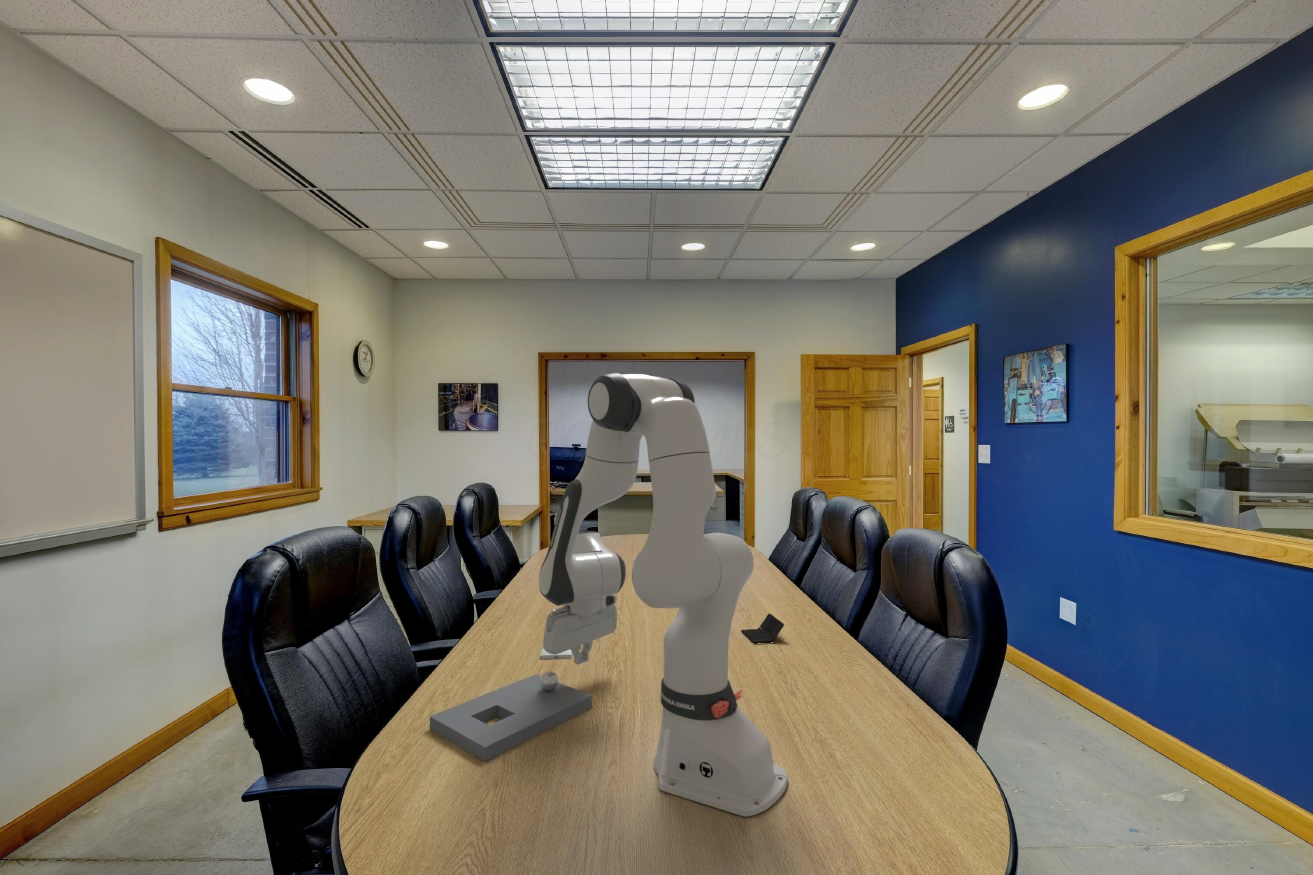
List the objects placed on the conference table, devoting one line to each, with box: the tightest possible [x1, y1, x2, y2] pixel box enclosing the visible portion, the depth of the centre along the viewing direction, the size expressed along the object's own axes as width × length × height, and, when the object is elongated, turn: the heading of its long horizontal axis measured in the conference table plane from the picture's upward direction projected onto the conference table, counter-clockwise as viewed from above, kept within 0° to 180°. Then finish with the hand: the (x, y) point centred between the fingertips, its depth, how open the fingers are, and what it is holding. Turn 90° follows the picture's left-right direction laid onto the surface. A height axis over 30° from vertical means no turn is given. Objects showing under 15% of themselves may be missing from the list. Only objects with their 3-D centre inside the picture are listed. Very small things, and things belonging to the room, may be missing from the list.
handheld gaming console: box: [740, 613, 785, 645], centre depth 160 cm, size 12×7×10 cm
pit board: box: [429, 673, 593, 763], centre depth 111 cm, size 18×26×2 cm
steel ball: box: [539, 670, 559, 691], centre depth 119 cm, size 4×4×4 cm
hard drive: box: [539, 647, 573, 660], centre depth 149 cm, size 2×8×12 cm
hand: (581, 662), depth 127 cm, fingers closed
